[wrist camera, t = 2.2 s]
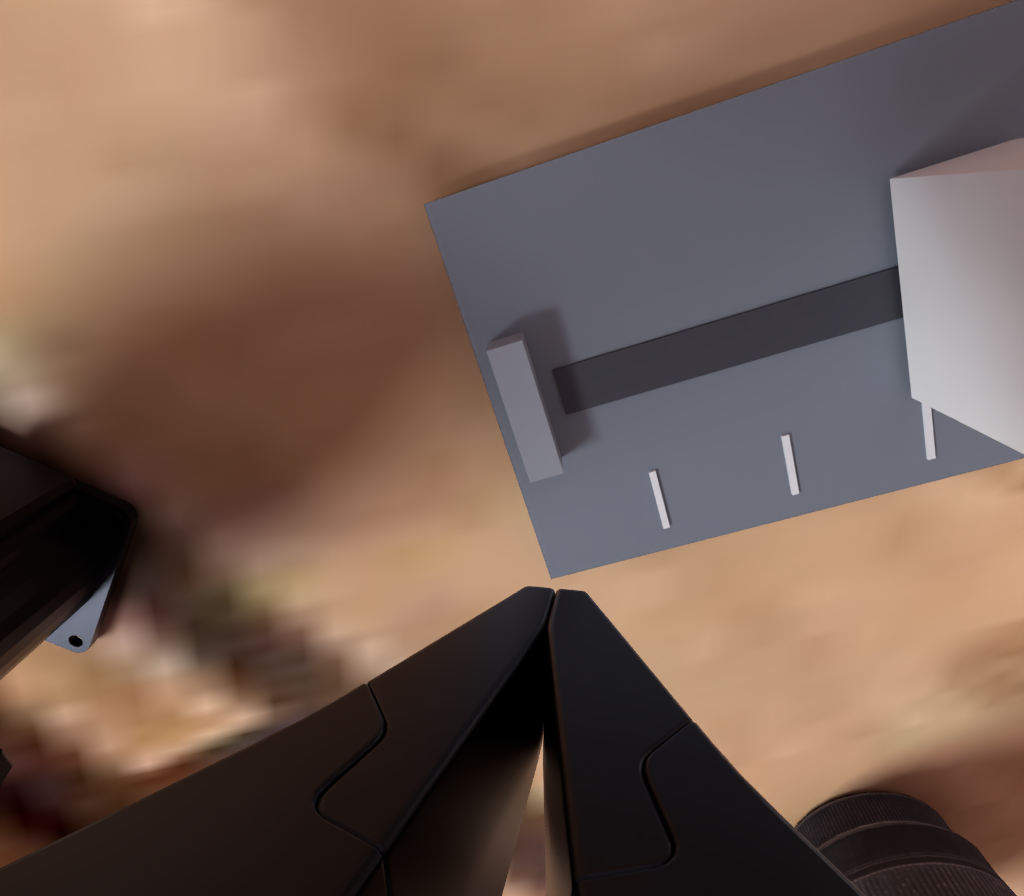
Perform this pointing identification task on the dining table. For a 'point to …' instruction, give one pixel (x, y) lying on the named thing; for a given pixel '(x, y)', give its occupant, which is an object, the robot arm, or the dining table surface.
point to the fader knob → (965, 287)
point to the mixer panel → (725, 301)
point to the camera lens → (899, 848)
